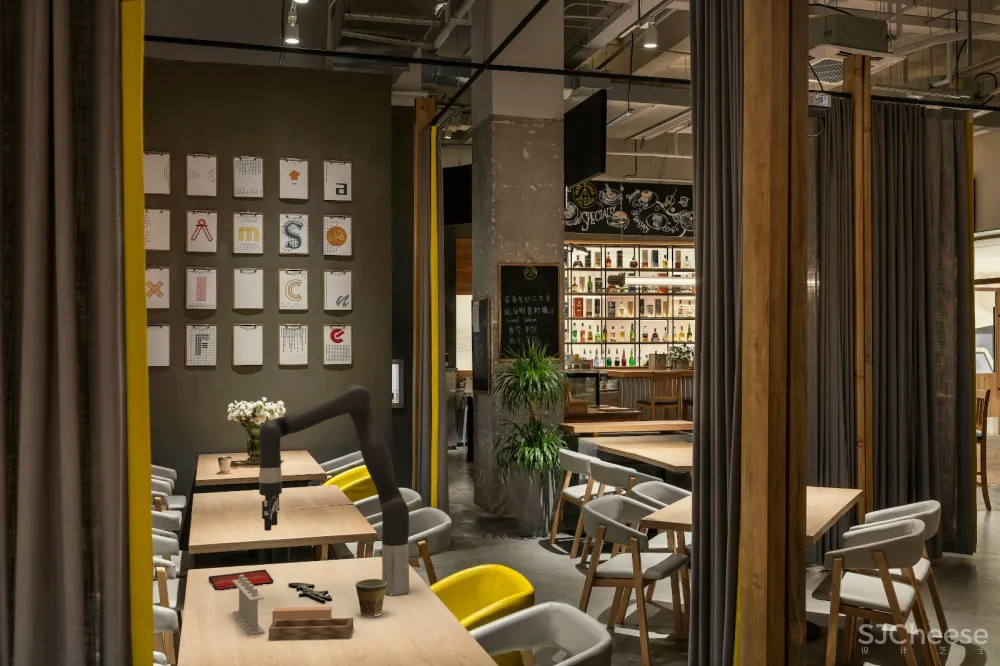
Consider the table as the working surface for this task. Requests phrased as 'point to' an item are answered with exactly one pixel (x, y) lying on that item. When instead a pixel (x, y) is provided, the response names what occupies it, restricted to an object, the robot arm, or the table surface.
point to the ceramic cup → (371, 596)
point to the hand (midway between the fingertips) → (271, 527)
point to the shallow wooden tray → (311, 629)
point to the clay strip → (302, 613)
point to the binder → (227, 580)
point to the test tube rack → (248, 606)
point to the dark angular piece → (311, 592)
